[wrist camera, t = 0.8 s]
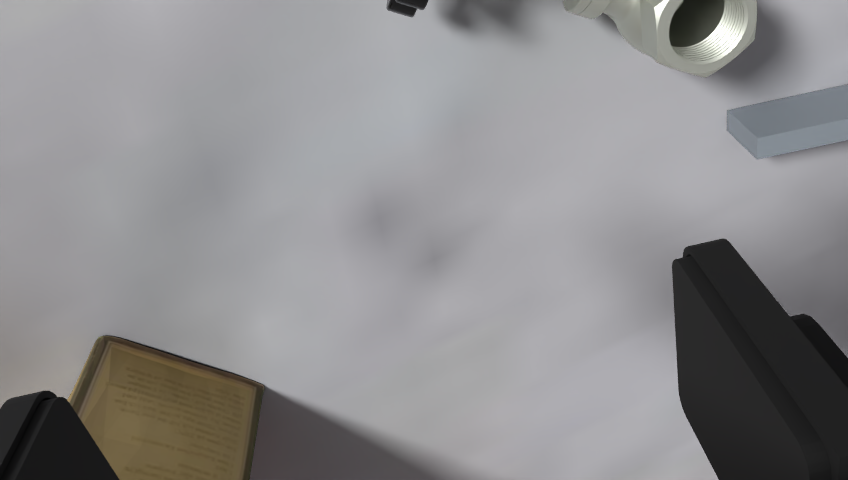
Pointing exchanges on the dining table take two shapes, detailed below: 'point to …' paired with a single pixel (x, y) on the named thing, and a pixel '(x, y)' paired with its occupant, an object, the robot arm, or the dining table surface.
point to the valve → (665, 28)
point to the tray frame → (791, 122)
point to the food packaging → (166, 414)
